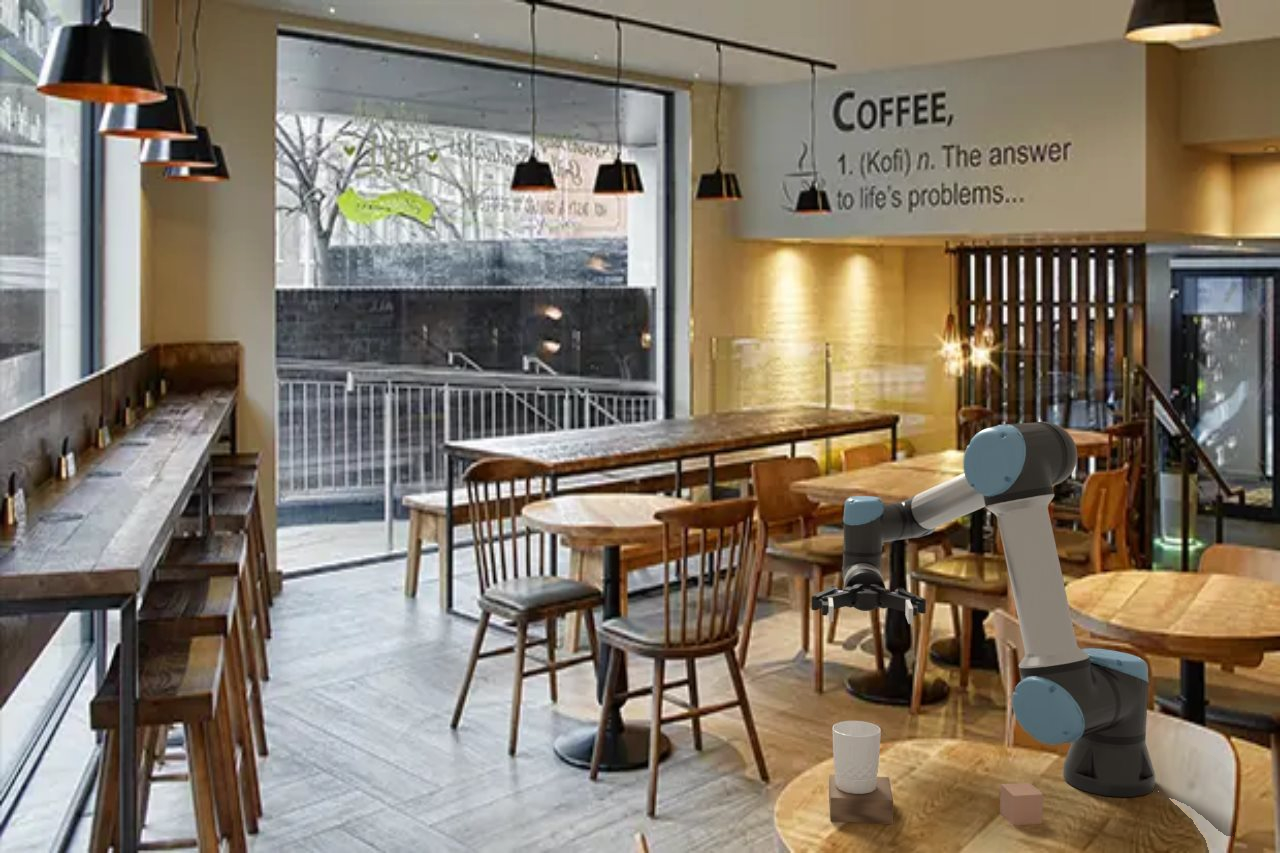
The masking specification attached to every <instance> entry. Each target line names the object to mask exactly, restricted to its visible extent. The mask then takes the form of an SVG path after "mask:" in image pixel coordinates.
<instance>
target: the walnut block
mask: <svg viewBox="0 0 1280 853" xmlns="http://www.w3.org/2000/svg"><path fill="white" fill-rule="evenodd" d="M828 780H829V781H828V782H829V783H828V784H829V785H828V802H829V818H830V822H841V823H843V822H844V823H861V824H864V823H865V824H882V825H893V824H894V797H893V792H892V786H891V781H890V777H888V776H877V779H876V789H875V790H874V791H872V792H870V793H866V794H852V793H846V792H843V791H841V790H839V789H838V788H837V787H836V786H835V774H829V776H828Z"/></svg>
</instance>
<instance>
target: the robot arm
mask: <svg viewBox="0 0 1280 853" xmlns="http://www.w3.org/2000/svg"><path fill="white" fill-rule="evenodd" d="M1077 462H1078V450H1077V445H1076V442H1075V441H1074V438H1073V437H1072V436H1071V435H1070V433H1069V432H1068V431H1067V430H1066V429H1065V428H1063V427H1061V426H1060V425H1058V424H1056V423H1053V422H1048V421H1035V422H1023V423H1008V424H1007V423H1005V424H998V425H996V426H991V427H986V428H984V429H982V430H980V431H979V432H977V433H976V434H975V435H973V437H972V438H971V439H970V442H969V444H968V445H967V446H966V448H965V452H964V454H963V462H962V463H963V464H962V465H963V472H962V473H961V474H958V475H956V476H954V477H952V478H950V479H947V480H945V481H943V482H941V483H939V484H937V485H935V486H932V487H930V488H928V489H926V490H924V491H922V492H920V493H918V494H916V495H913V496H911V497H909V498H907V499H904V500H902V501H899V502H892V503H883V499H881V498H880V497H877V496H870V495H859V496H858V495H857V496H850V497H848V498H846V500H845V501H844V509H843V517H842V522H843V551H842V567H841V579H842V581H843V586H844V588H843V590H839V588H838V587H836V586H835V585H829V586H828V588H827V589H824V590H822V591H820V592H818V593H815V594H813V595H811V610H812V611H818V610H820V609H821V616H828V622H829V623H830V622H831V623H832V622H833V623H834V610H836V609H837V610H838V609H841V608H845V607H846V608H854V609H855V610H858V611H862V612H869V611H870V612H871V611H873V610H876V609H878V608H880V609H893V610H896V611H900V612H903V613H905V614H904V615H905V618H906V620H907V624H908V625H913V623H914V617H915V616H918V613H919V614H926V613H927V599H926V598H924V597H922V596H919V595H917V594H914V593H912V592H909V591H906V590H905V588H903V587H897V588H896V589H895V590H894V591H891V590H890V589H888V588H886V585H885V581H884V578H883V574H882V567H883V566H882V564H883V563H882V562H883V560H882V558H883V557H882V556H883V543H888V542H895V541H899V540H907V539H919V538H922V537H924V536H928V535H931V534H932V533H933V532H934V531H935V530H936V528H938V527H940V526H942V525H945V524H948V523H950V522H953V521H955V520H957V519H959V518H961V517H964V516H966V515H969V514H971V513H973V512H976V511H978V510H981V509H982V508H985V509H987V510H988V511H989V512H991V513H992V514H994V516H995V517H996V520H997V526H998V529H999V533H1000V539H1001V543H1002V547H1003V553H1004V559H1005V562H1006V567H1007V568H1006V569H1007V572H1008V577H1009V581H1010V585H1011V586H1010V587H1011V591H1012V595H1013V600H1014V606H1015V610H1016V614H1017V620H1018V625H1019V629H1020V634H1021V639H1022V644H1023V647H1024V656H1023V658H1022V659H1021V661H1020V662H1019V664H1018V668H1019V674H1020V679H1021V680H1020V682H1018V683H1017V685H1016V686H1015V688H1014V689H1015V690H1014V691H1013V692H1012V698H1011V704H1012V711H1013V712H1014V717H1015V719H1016V720H1017V722H1018V724H1019V725H1020V726H1021V728H1022V729H1023V731H1025V732H1026V733H1027V734H1029V735H1030V736H1031V738H1033V739H1034V740H1036V741H1038V742H1040V743H1042V744H1045V745H1051V746H1056V745H1057V746H1058V745H1062V744H1070V746H1069V748H1068V752H1067V754H1066V756H1065V760H1064V761H1063V769H1062V770H1063V771H1062V772H1063V774H1062V775H1063V779H1064V780H1065V781H1066V783H1068V784H1070V785H1071V786H1073V787H1074V788H1076V789H1079V790H1081V791H1084V792H1087V793H1091V794H1095V795H1098V796H1099V795H1100V796H1107V797H1112V798H1113V797H1115V798H1116V797H1117V798H1131V797H1132V798H1133V797H1139V796H1144V795H1147V794H1150V793H1151V792H1153V791H1154V790H1155V787H1156V786H1155V785H1156V773H1155V769H1154V767H1153V763H1152V759H1151V756H1150V753H1149V749H1148V746H1147V741H1146V739H1147V737H1146V736H1147V735H1146V734H1147V717H1148V716H1147V715H1148V714H1147V712H1148V694H1149V693H1148V692H1149V690H1148V689H1149V684H1150V680H1149V667H1148V666H1149V665H1148V664H1147V662H1146V661H1145V660H1144V659H1142V658H1141V657H1139V656H1136V655H1133V654H1131V653H1126V652H1122V651H1116V650H1110V649H1105V648H1104V649H1103V648H1092V647H1091V648H1082V649H1081V648H1080V646H1078V643H1077V638H1076V634H1075V628H1074V624H1073V619H1072V615H1071V614H1072V613H1071V610H1070V605H1069V601H1068V596H1067V591H1066V587H1065V583H1064V577H1063V574H1062V573H1063V572H1062V568H1061V565H1060V564H1061V563H1060V559H1059V554H1058V549H1057V545H1056V540H1055V536H1054V531H1053V527H1052V522H1051V518H1050V513H1049V509H1048V508H1049V504H1050V503H1051V501H1052V500H1053V499H1054V497H1055V492H1054V487H1053V486H1057V485H1059V484H1061V483H1062V482H1064V481H1066V480H1067V479H1068V478H1069V477H1070V476H1071V475H1072V473H1073V472H1074V469H1076V468H1075V467H1076V465H1077Z"/></svg>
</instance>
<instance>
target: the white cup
mask: <svg viewBox="0 0 1280 853" xmlns="http://www.w3.org/2000/svg"><path fill="white" fill-rule="evenodd" d="M881 731H882V729H881V727H879V726H878V725H877V724H875V723H872V722H867V721H863V720H845V721H840V722H837V723H835V724H833V726H832V753H833V754H832V755H833V756H832V757H833V769H834V775H835V786H836V787H837V788H838V789H839V790H841V791H843V792H846V793H852V794H866V793H870V792H872V791H874V790H875V789H876V779H877V777H878V773H879V764H880V762H879V760H880V748H881V747H880V746H881Z"/></svg>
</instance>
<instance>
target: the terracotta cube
mask: <svg viewBox="0 0 1280 853" xmlns="http://www.w3.org/2000/svg"><path fill="white" fill-rule="evenodd" d="M999 793H1000V794H999V795H1000V796H999V797H1000V799H999V800H1000V802H999V814H1000V815H1002V817H1004V819H1006V820H1007V821H1008V822H1009V823H1010V824H1011V825H1012V826H1021V825H1023V826H1024V825H1037V824H1039V825H1040V824H1042V825H1043V813H1044V812H1043V805H1044V793H1042V792H1041V791H1040V790H1039V789H1037V788H1036V786H1034V785H1033V784H1032V783H1031V782H1017V783H1001V784H1000V792H999Z"/></svg>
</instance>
